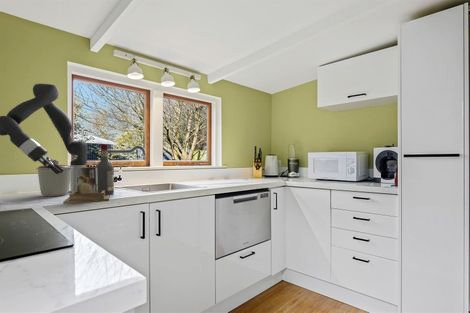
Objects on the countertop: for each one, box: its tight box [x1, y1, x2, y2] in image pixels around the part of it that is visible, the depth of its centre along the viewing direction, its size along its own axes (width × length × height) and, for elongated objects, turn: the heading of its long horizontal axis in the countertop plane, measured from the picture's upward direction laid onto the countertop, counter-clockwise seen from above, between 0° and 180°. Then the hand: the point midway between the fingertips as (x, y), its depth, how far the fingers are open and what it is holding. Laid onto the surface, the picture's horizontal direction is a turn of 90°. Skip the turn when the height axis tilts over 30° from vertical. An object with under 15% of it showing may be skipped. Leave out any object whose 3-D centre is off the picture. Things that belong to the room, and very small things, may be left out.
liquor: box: [95, 143, 115, 196], centre depth 165 cm, size 9×9×30 cm
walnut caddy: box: [63, 190, 111, 204], centre depth 146 cm, size 16×20×4 cm
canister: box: [35, 159, 73, 197], centre depth 164 cm, size 18×18×21 cm
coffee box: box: [77, 166, 98, 194], centre depth 146 cm, size 9×6×16 cm
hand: (60, 172), depth 142 cm, fingers open, 8 cm apart
